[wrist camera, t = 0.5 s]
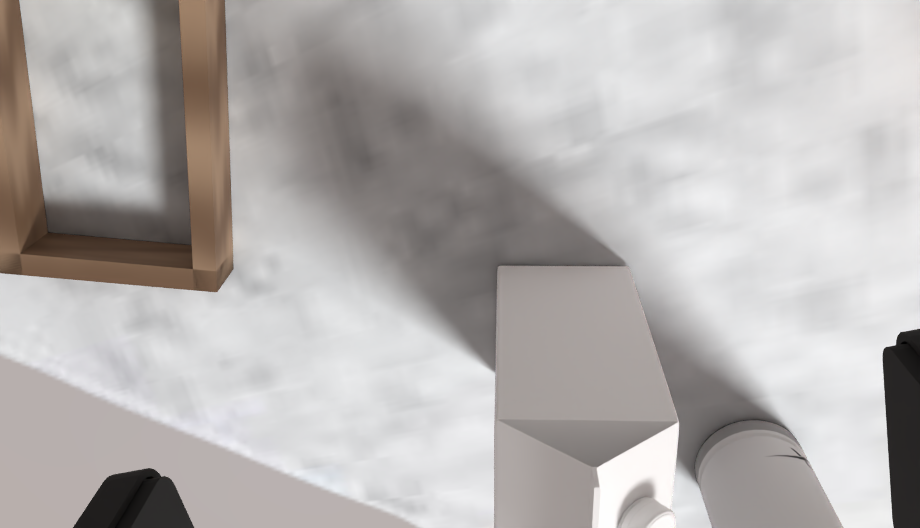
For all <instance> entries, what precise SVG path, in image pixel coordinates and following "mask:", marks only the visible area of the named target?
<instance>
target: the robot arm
mask: <svg viewBox="0 0 920 528" xmlns="http://www.w3.org/2000/svg"><path fill="white" fill-rule="evenodd" d="M883 372H884V388H885V405H886V421H887V437H888V453H889V469H890V485H891V502H892V518H893V525H894V528H920V329H917V330H911V331H906V332H901V333H900V334H899V335H898V337H897V341H896V346H890V347H886V348H885V349H884V351H883ZM73 528H194V526H193V524H192V522H191V520H190V518H189V515H188V513H187V511H186V509H185V507H184V505H183V503H182V500H181V498H180V496H179V494H178V492H177V490H176V487H175V485H174V483H173V482H172V480H171V479H170V478H168V477H165V476H164V477H161V476H160V474H159V473H158V472H157V471H155V470H154V469H150V468H148V469H142V470H137V471H131V472H126V473H120V474H115V475H111V476H109V477H108V478H107V479H106V480H105V481H104V482H103V483H102V485H101V486H100V488H99V489H98V491H97V492H96V494H95V496H94V497H93V498H92V500H91V501H90V503H89V504H88V506H87V507H86V509H85V511H84V512H83V514H82V515H81V517H80V518H79V519H78V521H77V523H76V524H75V525H74V527H73Z"/></svg>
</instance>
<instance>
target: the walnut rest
mask: <svg viewBox="0 0 920 528" xmlns="http://www.w3.org/2000/svg"><path fill="white" fill-rule="evenodd" d="M179 15H180V34H181V52H182V71H183V90H184V109H185V128H186V147H187V165H188V184H189V203H190V222H191V241H192V245H183V244H171V243H160V242H149V241H137V240H126V239H115V238H103V237H92V236H81V235H69V234H58V233H48V230H47V222H46V214H45V206H44V198H43V190H42V182H41V173H40V165H39V157H38V149H37V141H36V133H35V125H34V117H33V109H32V101H31V93H30V85H29V77H28V69H27V61H26V53H25V45H24V37H23V29H22V21H21V13H20V5H19V0H0V273H5V274H17V275H28V276H39V277H50V278H62V279H73V280H84V281H95V282H107V283H118V284H129V285H141V286H152V287H163V288H174V289H186V290H197V291H208V292H218V290H219V289H220V287H221V286H222V284H223V283H224V282H225V280H226V279H227V277H228V276H229V275H230V273H231V272H232V270H233V240H232V209H231V178H230V147H229V117H228V86H227V55H226V24H225V0H179Z"/></svg>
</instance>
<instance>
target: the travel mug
mask: <svg viewBox="0 0 920 528" xmlns="http://www.w3.org/2000/svg"><path fill="white" fill-rule="evenodd" d="M695 474H696V479H697V482H698V485H699V488H700V491H701V493H702V497H703V500H704V503H705V507H706V510H707V513H708V516H709V519H710V522H711V525H712V528H843V526H842V524H841V522H840V520H839V518H838V516H837V515H836V513H835V511H834V509H833V507H832V505H831V503H830V501H829V499H828V497H827V495H826V494H825V492H824V490H823V488H822V486H821V484H820V482H819V480H818V478H817V476H816V475H815V473H814V471H813V469H812V467H811V465H810V463H809V461H808V460H807V457H806V455H805V454H804V452H803V450H802V448H801V446H800V444H799V443H798V441H797V439H796V438H795V437H794V436H793V435H792V434H791V433H790V432H789V431H788V430H786V429H785V428H783V427H781V426H779V425H777V424H774V423H771V422H766V421H761V420H747V421H740V422H736V423H733V424H730V425H727V426H725V427H723V428H721V429H719V430H718V431H717V432H715V433H714V434H713V435H711V436H710V437H709V438H708V439H707V440H706V442H705V443H704V444H703V446H702V447H701V449H700V450H699V452H698V455H697V458H696V462H695Z"/></svg>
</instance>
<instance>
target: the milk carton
mask: <svg viewBox="0 0 920 528" xmlns="http://www.w3.org/2000/svg"><path fill="white" fill-rule="evenodd" d="M678 436H679V420H678V416H677V413H676V410H675V406H674V403H673V400H672V397H671V394H670V391H669V388H668V385H667V382H666V379H665V375H664V372H663V369H662V366H661V363H660V360H659V357H658V354H657V351H656V348H655V345H654V342H653V339H652V335H651V332H650V329H649V326H648V323H647V320H646V317H645V314H644V311H643V308H642V305H641V302H640V299H639V295H638V292H637V289H636V286H635V283H634V280H633V277H632V274H631V271H630V268H629V267H628V266H498V270H497V314H496V369H495V425H494V528H675V526H676V518H675V515H674V513H673V511H672V510H671V507H672V497H673V487H674V477H675V468H676V458H677V447H678Z"/></svg>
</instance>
